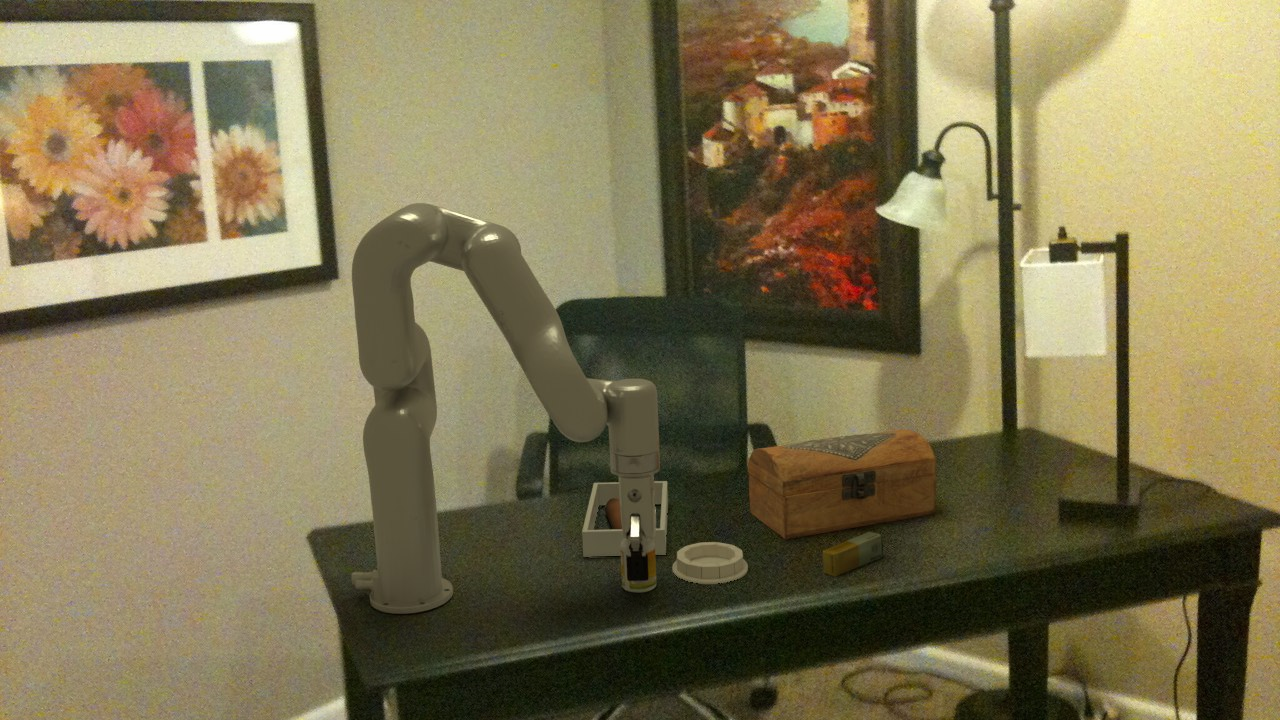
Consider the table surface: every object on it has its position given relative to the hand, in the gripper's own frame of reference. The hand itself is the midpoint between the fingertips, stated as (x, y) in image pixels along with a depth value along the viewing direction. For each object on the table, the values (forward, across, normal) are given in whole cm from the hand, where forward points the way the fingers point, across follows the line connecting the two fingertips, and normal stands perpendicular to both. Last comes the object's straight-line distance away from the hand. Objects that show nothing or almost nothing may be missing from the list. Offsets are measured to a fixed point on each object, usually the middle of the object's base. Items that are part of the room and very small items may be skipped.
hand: (639, 568), depth 185 cm
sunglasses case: (+4, +25, +2) cm, 25 cm away
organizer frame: (+3, +25, +3) cm, 25 cm away
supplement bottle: (+3, 0, 0) cm, 3 cm away
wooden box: (+3, +30, -35) cm, 47 cm away
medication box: (+3, +7, -34) cm, 35 cm away
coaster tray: (+3, +6, -11) cm, 13 cm away
